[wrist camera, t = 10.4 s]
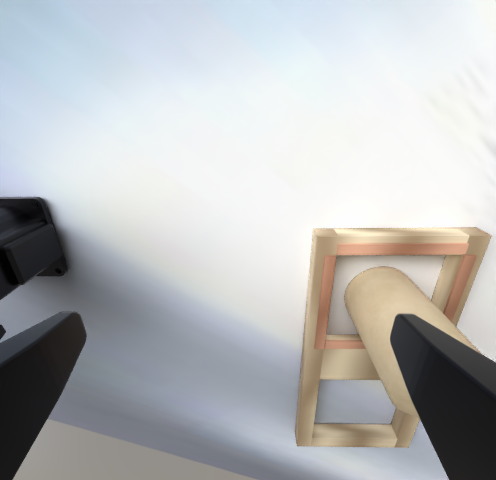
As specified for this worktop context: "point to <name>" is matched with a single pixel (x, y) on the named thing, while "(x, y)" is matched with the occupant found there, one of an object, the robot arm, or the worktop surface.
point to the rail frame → (351, 346)
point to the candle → (391, 322)
